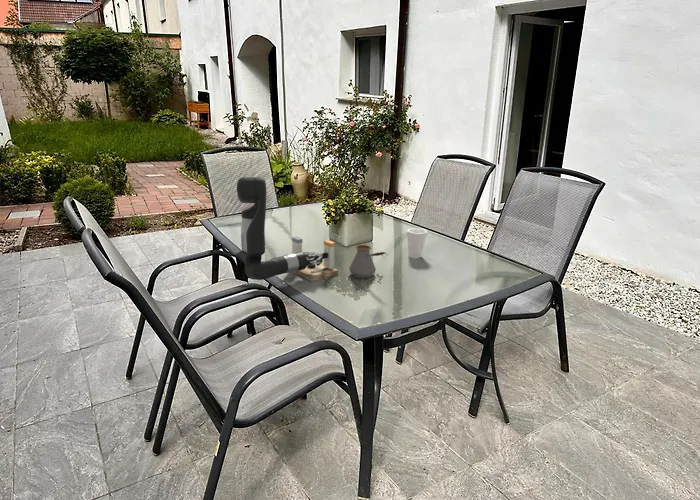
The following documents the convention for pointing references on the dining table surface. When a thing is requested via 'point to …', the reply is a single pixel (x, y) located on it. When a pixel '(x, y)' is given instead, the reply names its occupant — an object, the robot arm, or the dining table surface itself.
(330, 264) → the orange topped white block
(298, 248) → the grey topped white block
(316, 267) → the light wood flat block
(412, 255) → the foam cup
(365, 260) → the coffee pot
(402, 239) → the dining table surface
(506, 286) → the dining table surface
